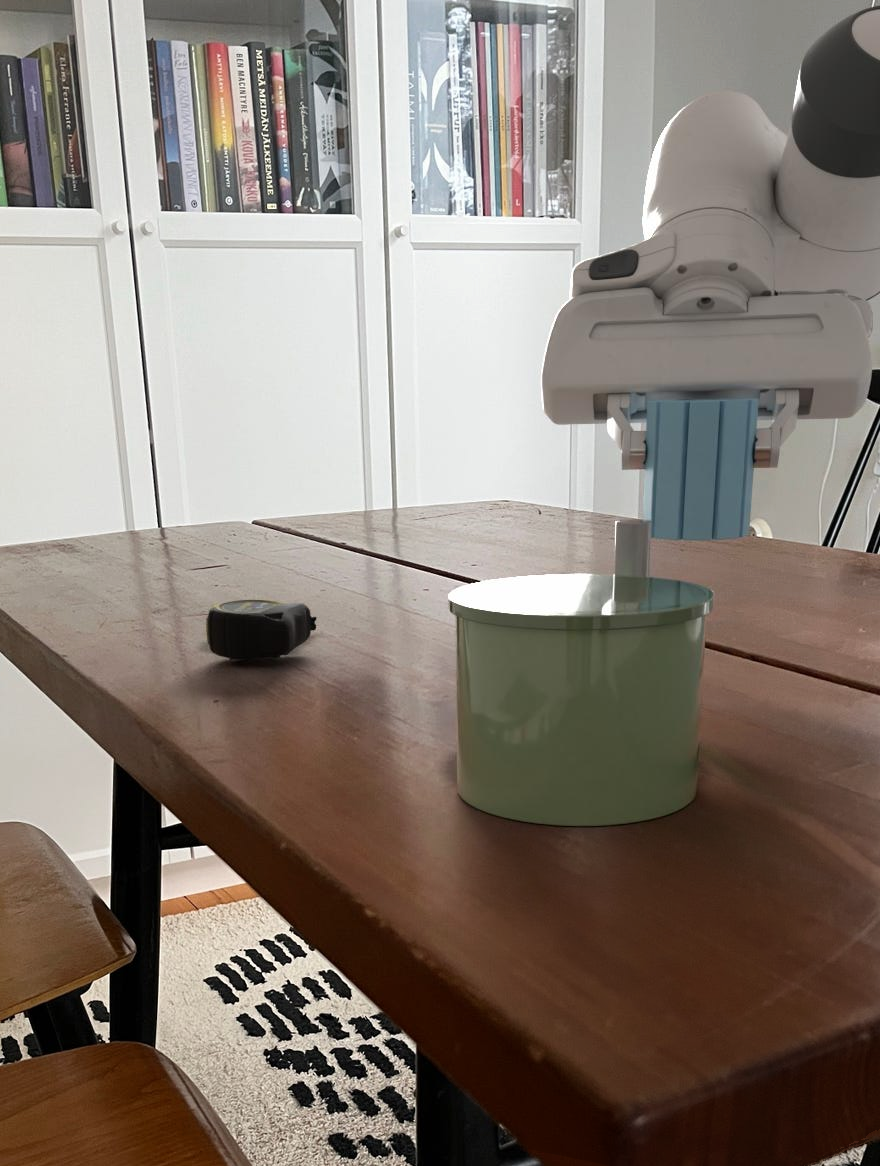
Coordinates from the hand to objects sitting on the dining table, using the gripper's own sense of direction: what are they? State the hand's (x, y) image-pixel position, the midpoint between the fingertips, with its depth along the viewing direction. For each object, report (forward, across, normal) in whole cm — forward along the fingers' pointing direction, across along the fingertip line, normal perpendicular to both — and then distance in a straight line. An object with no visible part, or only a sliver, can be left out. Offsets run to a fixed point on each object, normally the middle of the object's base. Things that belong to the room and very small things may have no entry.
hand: (698, 462), depth 77 cm
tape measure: (+8, +29, -10) cm, 32 cm away
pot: (+25, +4, +7) cm, 26 cm away
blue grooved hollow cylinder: (+3, 0, -4) cm, 4 cm away
